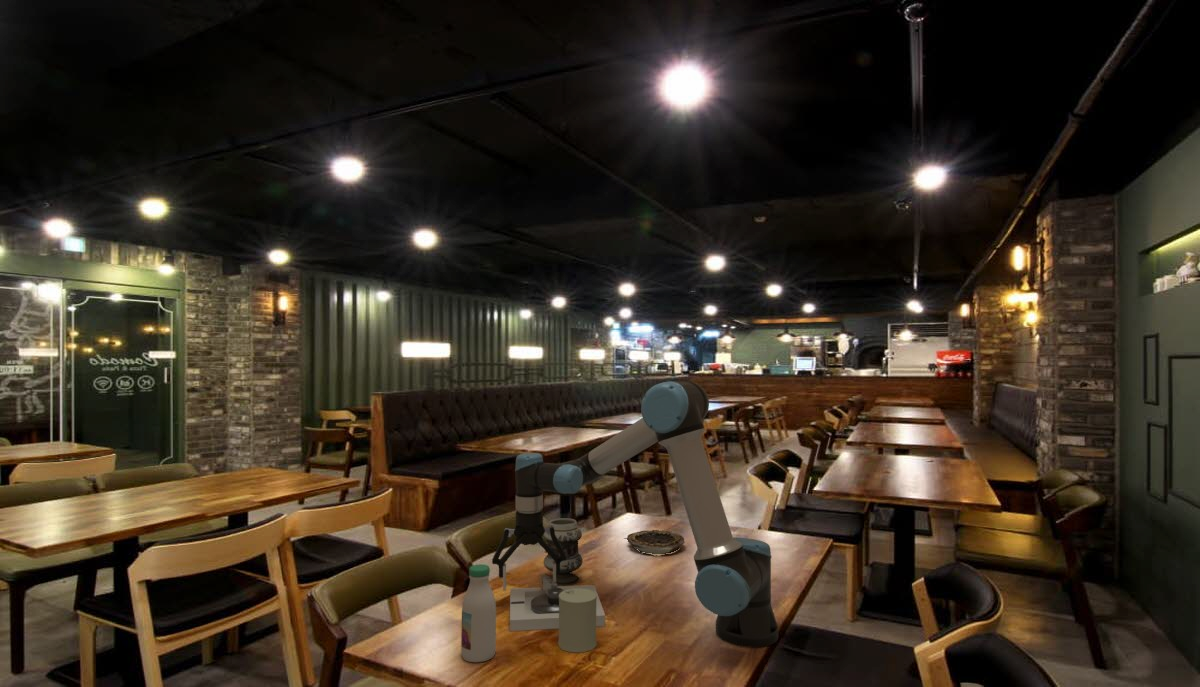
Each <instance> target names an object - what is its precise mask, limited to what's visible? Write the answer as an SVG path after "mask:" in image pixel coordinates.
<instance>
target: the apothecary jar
mask: <svg viewBox="0 0 1200 687" xmlns="http://www.w3.org/2000/svg"><path fill="white" fill-rule="evenodd" d="M577 523H578V522H577V520H576V519H573V518H567V517H566V518H563V517H562V518H554V519H552V520H550V521H549V523H548V527H550V526H554V531H555V535H556V537H557V539H558V541H559V543H560V545H561V547H562V549H563V550H564V552H565V554H566V558H567V559H566V560H565V561H561V562H560V574H557V575H556V583H557V586H572V585H575V584H576V583H578V582H579V581H580V577H579V576H578V575H577V574H575V573H573V572H575V571H577V570H579V569H580V568H581V567H582V566H583V557H582V556H581V554H580V553H579V540H581V538H582V537H583V531H582V529H581V528H580V527H578V524H577ZM543 537H544V540H546V541H547V544H548V545H549V546H550V547H551V549H552V550H553V551H554V552H555V553H556V554H557V555H558V556H560V554H559V552H558V550H557V548H556V546H555V544H554V542H553V540H552V538H551V535H548V534H547V533H546V532H545V533H544V534H543ZM553 561H554V560H553V558H552V557H551V556H550V555H549V554H548V553H547V555H546V556H545V557H544V559H543V566H544V567H545V568H546V569H547V570H548V571H549V572H551V573H553ZM548 576H549V577H550V578H551V579H553V574H551V575H548Z"/></svg>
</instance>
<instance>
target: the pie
mask: <svg viewBox="0 0 1200 687" xmlns="http://www.w3.org/2000/svg"><path fill="white" fill-rule="evenodd" d="M623 539H627V540H628V544H630V545H631V546H632V548H634V549H635V548H636V549H638V550H639V551H640V552H645V553H652V554H666V553H671V552H674V551H676V550H678V549H679V548H680V549H681V547H682V546H683V545H684V544H685V542H686V541H685V537H684V536H683V535H682V534H679V533H675V532H674V533H672V532H671V531H670V530H663V529H662V530H659V529H650V530H640V531H636V532H633V533H629V534H628V535H627V537H624V538H623ZM636 549H635V550H636ZM639 551H638V552H639ZM678 551H679V550H678ZM640 552H639V553H640Z"/></svg>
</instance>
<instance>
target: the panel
mask: <svg viewBox="0 0 1200 687" xmlns="http://www.w3.org/2000/svg"><path fill="white" fill-rule="evenodd" d="M557 588H561V589H562V590H563V591H564V590H568V589H574V588H583V589H589V590H592V591H594V592H595V593H596V594H597V599H596V628H597V627H599V628H600V627H606V614H605V611H604V608H603V605H602V602H601V600H600V597H599V594H598V591H597V589H596V585H594V584H584V585H582V584H581V585H563V586H561V585H557ZM509 591H510V592H509V596H510V597H509V598H510V599H509V632H521V631H538V630H559V613H549V614H538V613H536V612H534V611H533V610H532V609H531V601H532V599H533V598H535V597H537V596H539V595H542V594H546V593H545V592H544V591H543V590H541V589H540V588H539V586H538V587H519V588H517V587H515V588H513V587H511V588H510V589H509Z"/></svg>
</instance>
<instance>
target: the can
mask: <svg viewBox="0 0 1200 687" xmlns="http://www.w3.org/2000/svg"><path fill="white" fill-rule="evenodd" d="M597 594H598V593H597ZM597 594H596V593H595V592H594V591H592V590H589V589H583V588H574V589H568V590H564V591H562V592H561V593H560V594H559V629H558V642H557V646H558V647H559V649H560V650H563V651H565V652H567V653H568V652H569V653H576V654H579V653H586V652H589V651H592V650H594V649H595V648H596V647H597V644H598V642H597V627H596V599H597Z"/></svg>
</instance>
